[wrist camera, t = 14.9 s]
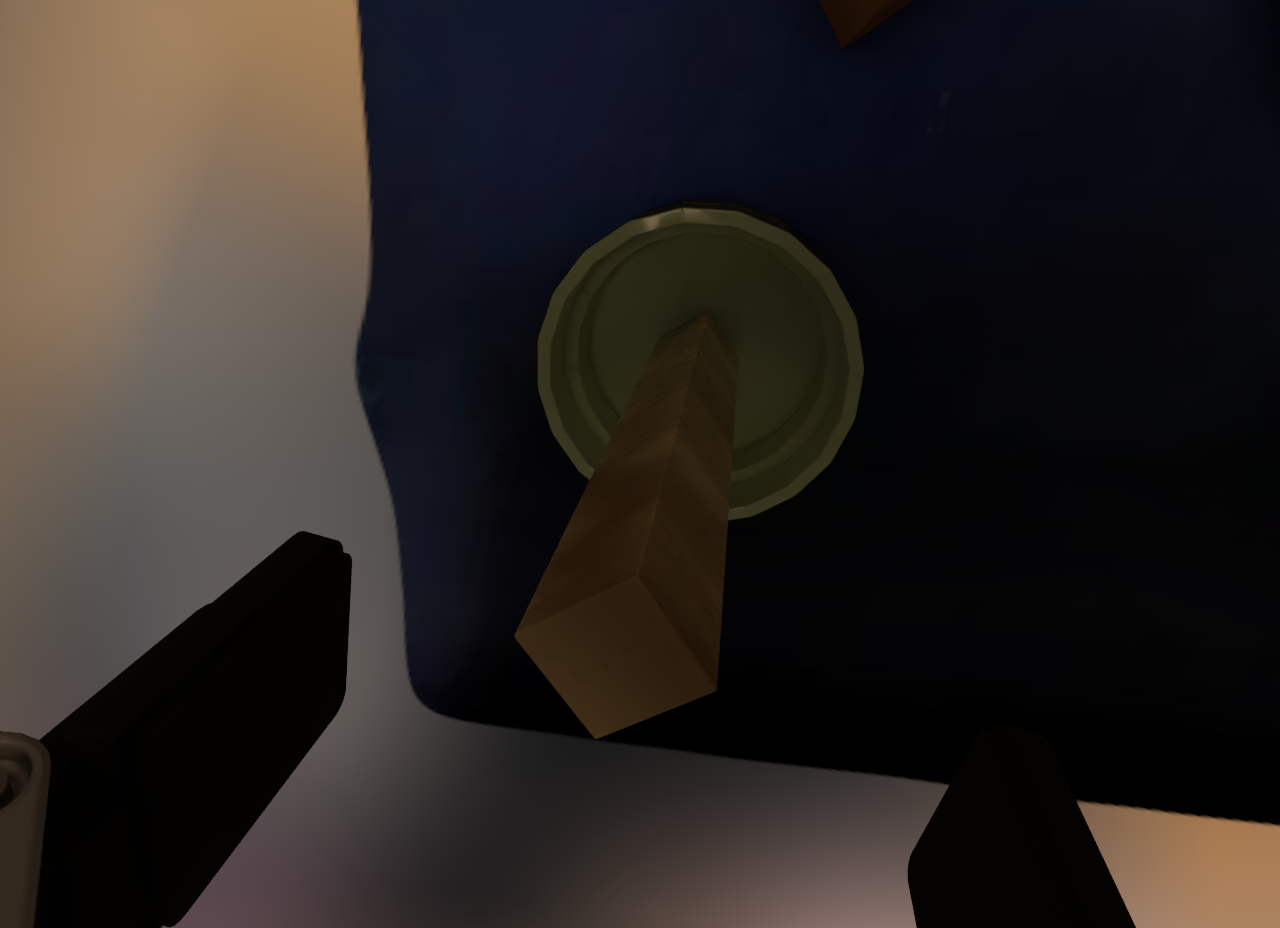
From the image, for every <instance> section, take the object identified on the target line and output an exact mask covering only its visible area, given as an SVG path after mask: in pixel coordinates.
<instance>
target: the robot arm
mask: <svg viewBox="0 0 1280 928" xmlns="http://www.w3.org/2000/svg"><path fill="white" fill-rule="evenodd" d="M351 571H352V558H351V556H350V555H349V554H347V553H344V552H343V546H342V544H341V542H339V541H338V540H334V539H330V538H327V537H323V536H320V535H316V534H312V533H308V532H305V531H301V532H298V533H296V534H295V535H293V536H292V537H291V538H290V539H289V540H287V541H286V542H285V543H284V544H282V545H281V546H280V547H279V548H278V549H276V550H275V551H274V552H273V553H272V554H270V555H269V556H268V557H267V558H266V559H264V560H263V561H262V562H261V563H260V564H258V565H257V566H256V567H255V568H253V569H252V570H251V571H250V572H249V573H248V574H246V575H245V576H244V577H243V578H241V579H240V580H239V581H238V582H237V583H235V584H234V585H233V586H232V587H230V588H229V589H228V590H227V591H226V592H225V593H223V594H222V595H221V596H220V597H218V598H217V599H216V600H215V601H214V602H213V603H211V604H207V605H205V606H204V607H202V608H200V609H199V610H197V611H196V612H195V613H194V614H192V615H191V616H190V617H189V618H187V619H186V620H185V621H184V622H183V623H181V624H180V625H179V626H178V627H177V628H175V629H174V630H173V631H172V632H170V633H169V634H168V635H167V636H166V637H164V638H163V639H162V640H161V641H159V642H158V643H157V644H156V645H155V646H153V647H152V648H151V649H150V650H148V651H147V652H146V653H145V654H144V655H142V656H141V657H140V658H139V659H137V660H136V661H135V662H134V663H133V664H131V665H130V666H129V667H128V668H127V669H125V670H124V671H123V672H122V673H121V674H119V675H118V676H117V677H116V678H114V679H113V680H112V681H111V682H109V683H108V684H107V685H106V686H105V687H103V688H102V689H101V690H100V691H99V692H97V693H96V694H95V695H94V696H92V697H91V698H90V699H89V700H87V701H86V702H85V703H84V704H83V705H81V706H80V707H79V708H78V709H76V710H75V711H74V712H73V713H72V714H70V715H69V716H68V717H67V718H66V719H64V720H63V721H62V722H61V723H59V724H58V725H57V726H56V727H55V728H53V729H52V730H51V731H50V732H49V733H47V734H46V735H45V736H44V737H42V738H41V739H40V740H37V739H35V738H32V737H30V736H27V735H24V734H22V733H13V732H2V731H0V928H161V927H162V926H163V925H164V926H166V927H172V926H174V925H176V924H177V923H178V922H179V921H180V920H181V919H182V918H183V917H184V915H185V914H186V913H187V912H188V911H189V909H190V908H191V907H192V905H193V904H194V903H195V901H196V900H197V899H198V897H199V896H200V895H201V893H202V892H203V891H204V889H205V888H206V887H207V885H208V884H209V883H210V881H211V880H212V879H213V877H214V876H215V875H216V873H217V872H218V871H219V869H220V868H221V867H222V866H223V864H224V863H225V861H226V860H227V859H228V857H229V856H230V855H231V853H232V852H233V851H234V850H235V848H236V847H237V846H238V844H239V843H240V842H241V840H242V839H243V838H244V836H245V835H246V834H247V832H248V831H249V830H250V828H251V827H252V826H253V824H254V823H255V822H256V820H257V819H258V818H259V816H260V815H261V814H262V812H263V811H264V810H265V808H266V807H267V806H268V804H269V803H270V802H271V801H272V799H273V798H274V797H275V795H276V794H277V792H278V791H279V790H280V789H281V787H282V786H283V785H284V783H285V782H286V780H287V779H288V778H289V776H290V775H291V774H292V773H293V771H294V770H295V769H296V767H297V766H298V765H299V763H300V762H301V761H302V759H303V758H304V757H305V755H306V754H307V753H308V751H309V750H310V749H311V747H312V746H313V745H314V744H315V742H316V741H317V740H318V738H319V737H320V736H321V734H322V733H323V732H324V730H325V729H326V728H327V726H328V725H329V724H330V722H331V721H332V720H333V718H334V717H335V716H336V714H337V712H338V711H339V709H340V707H341V705H342V702H343V699H344V696H345V691H346V675H347V655H348V634H349V613H350V594H351V573H352V572H351ZM908 884H909V889H910V894H911V900H912V905H913V910H914V915H915V920H916V926H917V928H1136V927H1135V925H1134V923H1133V920H1132V918H1131V916H1130V914H1129V912H1128V910H1127V908H1126V906H1125V903H1124V901H1123V899H1122V897H1121V895H1120V893H1119V891H1118V889H1117V886H1116V884H1115V882H1114V880H1113V878H1112V876H1111V874H1110V872H1109V869H1108V867H1107V865H1106V863H1105V861H1104V859H1103V857H1102V855H1101V853H1100V851H1099V848H1098V846H1097V844H1096V842H1095V840H1094V838H1093V836H1092V833H1091V831H1090V829H1089V827H1088V825H1087V823H1086V821H1085V818H1084V816H1083V814H1082V812H1081V810H1080V808H1079V806H1078V804H1077V801H1076V799H1075V797H1074V795H1073V793H1072V791H1071V789H1070V787H1069V784H1068V782H1067V780H1066V778H1065V776H1064V774H1063V772H1062V770H1061V767H1060V765H1059V763H1058V761H1057V759H1056V757H1055V755H1054V753H1053V750H1052V748H1051V746H1050V744H1049V743H1048V741H1047V740H1046V738H1045V737H1043V736H1041V735H1039V734H1035V733H1032V732H1028V731H1024V730H1021V729H1017V728H1014V727H1010V726H1006V725H997V726H995V727H994V728H993V729H992V730H991V732H989V731H982V732H980V733H979V734H978V736H977V737H976V739H975V741H974V742H973V744H972V746H971V748H970V749H969V751H968V753H967V755H966V757H965V758H964V760H963V762H962V764H961V766H960V767H959V769H958V771H957V773H956V774H955V776H954V778H953V780H952V782H951V783H950V785H949V787H948V789H947V791H946V792H945V794H944V796H943V798H942V800H941V801H940V803H939V805H938V807H937V808H936V810H935V812H934V814H933V816H932V817H931V819H930V821H929V823H928V825H927V826H926V828H925V830H924V832H923V833H922V836H921V837H920V839H919V841H918V842H917V844H916V846H915V848H914V850H913V851H912V854H911V856H910V860H909V863H908Z"/></svg>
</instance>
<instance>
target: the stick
mask: <svg viewBox="0 0 1280 928" xmlns="http://www.w3.org/2000/svg"><path fill="white" fill-rule="evenodd" d="M738 360H739V357H738V355H737V354H736V352H735V350H734V349H733V347H732V345H731V344H730V342H729V340H728V339H727V337H726V335H725V334H724V332H723V330H722V329H721V327H720V325H719V324H718V322H717V320H716V319H715V317H714V315H713V314H712V312H711V310H710V309H709V308H708V309H706V310H704V311H703V312H701V313H699V314H698V315H696V316H694V317H693V318H691V319H689V320H688V321H686V322H684V323H683V324H681V325H679V326H678V327H676V328H674V329H673V330H671V331H669V332H668V333H666V334H664V335H663V336H661V337H660V338H659V339H658V341H657V343H656V345H655V347H654V349H653V351H652V353H651V356H650V358H649V360H648V362H647V364H646V366H645V368H644V370H643V372H642V374H641V376H640V378H639V380H638V382H637V384H636V386H635V388H634V390H633V393H632V395H631V397H630V399H629V401H628V403H627V405H626V407H625V409H624V411H623V413H622V415H621V417H620V419H619V421H618V423H617V425H616V427H615V429H614V432H613V434H612V436H611V438H610V440H609V442H608V444H607V446H606V448H605V450H604V452H603V454H602V456H601V458H600V460H599V462H598V464H597V466H596V469H595V471H594V473H593V475H592V477H591V479H590V481H589V483H588V485H587V487H586V489H585V491H584V493H583V495H582V497H581V499H580V501H579V503H578V505H577V508H576V510H575V512H574V514H573V516H572V518H571V520H570V522H569V524H568V526H567V528H566V530H565V532H564V534H563V536H562V538H561V540H560V542H559V545H558V547H557V549H556V551H555V553H554V555H553V557H552V559H551V561H550V563H549V565H548V567H547V569H546V571H545V573H544V575H543V577H542V579H541V582H540V584H539V586H538V588H537V590H536V592H535V594H534V596H533V598H532V600H531V602H530V604H529V606H528V608H527V610H526V612H525V614H524V616H523V618H522V621H521V623H520V625H519V627H518V629H517V631H516V633H515V638H516V640H517V641H518V642H519V643H520V645H521V646H522V647H523V648H524V650H525V651H526V652H527V653H528V655H529V656H530V657H531V658H532V660H533V661H534V662H535V664H536V665H537V666H538V667H539V669H540V670H541V671H542V672H543V674H544V675H545V676H546V677H547V679H548V680H549V681H550V683H551V684H552V685H553V686H554V688H555V689H556V690H557V691H558V693H559V694H560V695H561V696H562V698H563V699H564V700H565V701H566V703H567V704H568V705H569V707H570V708H571V709H572V710H573V712H574V713H575V714H576V715H577V717H578V718H579V719H580V720H581V722H582V723H583V724H584V726H585V727H586V728H587V729H588V731H589V732H590V733H591V734H592V736H593V737H594V738H595V739H598V738H600V737H603V736H605V735H608V734H610V733H613V732H615V731H618V730H620V729H623V728H625V727H628V726H630V725H633V724H635V723H638V722H640V721H643V720H645V719H647V718H650V717H652V716H655V715H657V714H660V713H662V712H665V711H667V710H670V709H672V708H675V707H677V706H680V705H682V704H685V703H687V702H690V701H692V700H695V699H697V698H700V697H702V696H705V695H707V694H710V693H712V692H715V691H716V690H717V679H718V664H719V649H720V634H721V619H722V603H723V588H724V573H725V558H726V543H727V527H728V512H729V497H730V482H731V467H732V451H733V436H734V421H735V406H736V391H737V375H738Z"/></svg>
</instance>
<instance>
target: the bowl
mask: <svg viewBox="0 0 1280 928" xmlns="http://www.w3.org/2000/svg"><path fill="white" fill-rule="evenodd" d="M708 308H709V309H710V310H711V312H712V314H713V315H714V317H715V319H716V320H717V322H718V324H719V325H720V327H721V329H722V330H723V332H724V334H725V335H726V337H727V339H728V340H729V342H730V344H731V345H732V347H733V349H734V350H735V352H736V354H737V355H738V357H739V360H738V375H737V391H736V406H735V421H734V436H733V451H732V467H731V482H730V497H729V512H728V520H734V519H740V518H746V517H751V516H754V515H756V514H758V513H760V512H762V511H765V510H767V509H769V508H771V507H773V506H775V505H777V504H779V503H781V502H783V501H785V500H787V499H789V498H791V497H794V496H795V495H797V494H798V493H799V492H800V491H801V490H802V489H803V488H804V487H805V486H806V485H807V484H808V483H810V482H811V481H812V480H813V479H814V478H815V477H816V476H817V475H818V474H819V473H820V472H821V471H822V470H824V469H825V468H826V467H827V466H828V465H829V464H830V462H831V461H832V460H833V458H834V456H835V455H836V453H837V451H838V449H839V447H840V446H841V444H842V442H843V440H844V439H845V437H846V435H847V433H848V431H849V430H850V428H851V426H852V424H853V422H854V419H855V418H856V412H857V407H858V402H859V396H860V391H861V386H862V380H863V375H864V363H863V356H862V350H861V343H860V337H859V330H858V323H857V319H856V316H855V314H854V312H853V310H852V308H851V306H850V305H849V303H848V301H847V299H846V297H845V295H844V293H843V291H842V290H841V288H840V286H839V284H838V282H837V280H836V278H835V277H834V275H833V273H832V271H831V270H830V268H829V266H828V265H827V263H826V262H825V260H824V258H823V257H822V255H821V254H820V253H819V251H818V250H817V249H816V248H814V247H813V246H812V245H811V244H810V243H809V242H808V241H807V240H806V239H805V238H803V237H802V236H801V235H800V234H799V233H798V232H797V231H796V230H795V229H794V228H793V227H791V226H790V225H789V224H788V223H787V222H784V220H783V219H781V218H778V217H776V216H773V215H771V214H769V213H766V212H764V211H762V210H759V209H757V208H755V207H752V206H750V205H748V204H745V203H743V202H739V201H727V200H712V199H698V198H694V199H687V200H684V201H680V202H676V203H673V204H669V205H665V206H661V207H658V208H654V209H650V210H647V211H646V212H643V213H642V214H640V215H639V216H637V217H635V218H634V219H632V220H630V221H629V222H627V223H626V224H624V225H623V226H621V227H620V228H618V229H617V230H615V231H614V232H612V233H611V234H609V235H608V236H606V237H605V238H603V239H602V240H600V241H599V242H597V243H596V244H594V245H593V246H591V247H590V248H588V249H587V250H586V251H585V252H584V253H583V254H582V255H581V256H580V258H579V259H578V260H577V262H576V263H575V264H574V266H573V267H572V268H571V270H570V271H569V272H568V274H567V275H566V276H565V278H564V279H563V280H562V282H561V283H560V284H559V286H558V287H557V288H556V290H555V291H554V293H553V295H552V298H551V301H550V304H549V307H548V310H547V313H546V316H545V319H544V322H543V325H542V328H541V331H540V334H539V337H538V391H539V394H540V397H541V400H542V403H543V406H544V409H545V412H546V415H547V418H548V422H549V425H550V428H551V431H552V433H553V435H554V436H555V438H556V439H557V441H558V442H559V444H560V445H561V446H562V448H563V449H564V451H565V452H566V454H567V455H568V456H569V458H570V459H571V461H572V462H573V464H574V465H575V466H576V468H577V469H578V471H580V473H581V474H583V475H584V476H585V477H586V478H588V479H589V480H590V479H591V477H592V475H593V473H594V471H595V469H596V466H597V464H598V462H599V460H600V458H601V456H602V454H603V452H604V450H605V448H606V446H607V444H608V442H609V440H610V438H611V436H612V434H613V432H614V429H615V427H616V425H617V423H618V421H619V419H620V417H621V415H622V413H623V411H624V409H625V407H626V405H627V403H628V401H629V399H630V397H631V395H632V393H633V390H634V388H635V386H636V384H637V382H638V380H639V378H640V376H641V374H642V372H643V370H644V368H645V366H646V364H647V362H648V360H649V358H650V356H651V353H652V351H653V349H654V347H655V345H656V343H657V341H658V339H659V338H660V337H661V336H663V335H664V334H666V333H668V332H669V331H671V330H673V329H674V328H676V327H678V326H679V325H681V324H683V323H684V322H686V321H688V320H689V319H691V318H693V317H694V316H696V315H698V314H699V313H701V312H703V311H704V310H706V309H708Z"/></svg>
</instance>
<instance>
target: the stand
mask: <svg viewBox="0 0 1280 928" xmlns="http://www.w3.org/2000/svg"><path fill="white" fill-rule="evenodd" d="M913 1H914V0H819V2H820V4H821V6H822V8H823V10H824V12H825V14H826V16H827V18H828V21H829V23H830V25H831V27H832V29H833V31H834V33H835V35H836V37H837V39H838V41H839V43H840V45H841V47H842V49H844V48H846V47H847V46H849V45H850V44H851V43H853V42H854V41H856V40H857V39H859V38H860V37H862V36H863V35H865V34H866V33H867V32H869V31H870V30H872V29H873V28H875V27H876V26H878V25H879V24H881V23H882V22H883V21H885V20H886V19H888V18H889V17H891V16H892V15H894V14H895V13H897V12H898V11H899V10H901V9H902V8H904V7H905V6H907V5H908V4H910V3H911V2H913Z"/></svg>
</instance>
